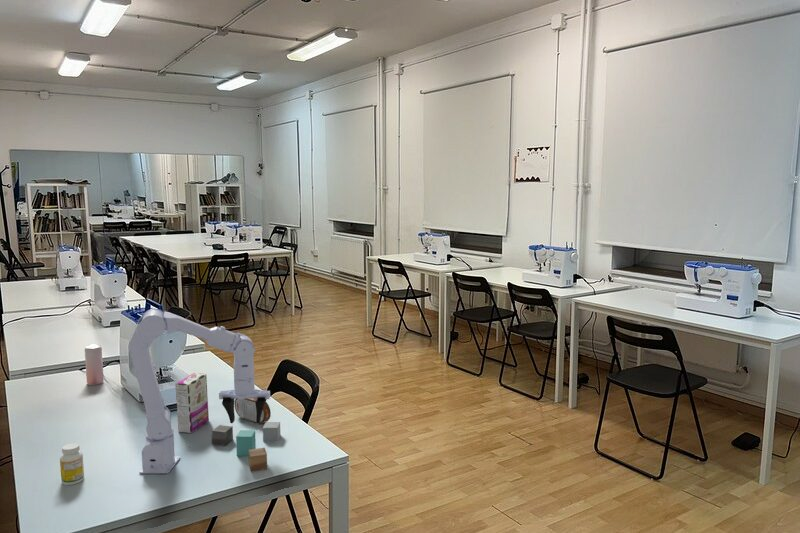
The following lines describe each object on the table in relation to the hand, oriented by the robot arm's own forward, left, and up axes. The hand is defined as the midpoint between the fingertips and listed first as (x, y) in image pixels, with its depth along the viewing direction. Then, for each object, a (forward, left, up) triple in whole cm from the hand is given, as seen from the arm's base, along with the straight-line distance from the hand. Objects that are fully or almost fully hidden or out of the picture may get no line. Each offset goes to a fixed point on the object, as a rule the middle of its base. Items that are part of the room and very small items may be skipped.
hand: (245, 421), depth 174 cm
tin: (+24, +4, -10) cm, 26 cm away
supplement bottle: (-17, +42, -10) cm, 46 cm away
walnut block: (-9, -5, -10) cm, 14 cm away
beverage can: (+61, +75, -10) cm, 97 cm away
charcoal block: (+7, +9, -10) cm, 15 cm away
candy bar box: (+19, +22, -10) cm, 31 cm away
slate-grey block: (+10, -5, -10) cm, 15 cm away
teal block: (0, 0, -10) cm, 10 cm away
